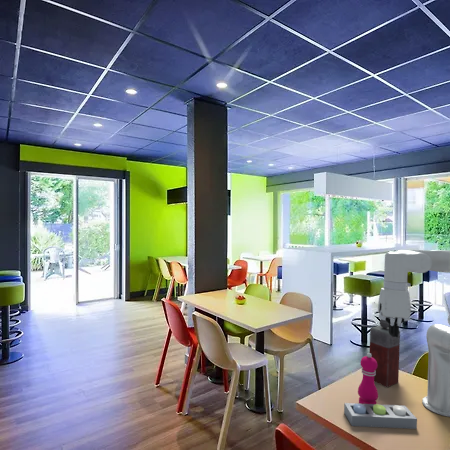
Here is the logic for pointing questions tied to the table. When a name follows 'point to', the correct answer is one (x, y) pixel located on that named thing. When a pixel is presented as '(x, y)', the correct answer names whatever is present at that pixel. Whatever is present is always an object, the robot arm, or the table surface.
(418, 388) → the table surface
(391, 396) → the table surface
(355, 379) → the table surface
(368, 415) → the panel
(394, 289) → the robot arm
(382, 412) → the lime button
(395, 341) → the brown salt grinder
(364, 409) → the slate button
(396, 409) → the white rounded piece
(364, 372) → the pepper mill
